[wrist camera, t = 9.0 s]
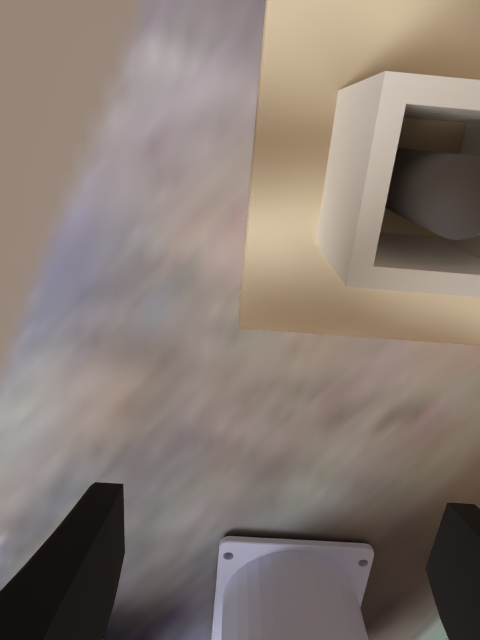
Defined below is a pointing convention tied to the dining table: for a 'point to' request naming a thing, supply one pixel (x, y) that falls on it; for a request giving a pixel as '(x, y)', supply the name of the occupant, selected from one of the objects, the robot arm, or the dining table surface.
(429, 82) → the hollow square tube
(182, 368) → the dining table surface
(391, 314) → the roll holder
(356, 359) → the dining table surface
